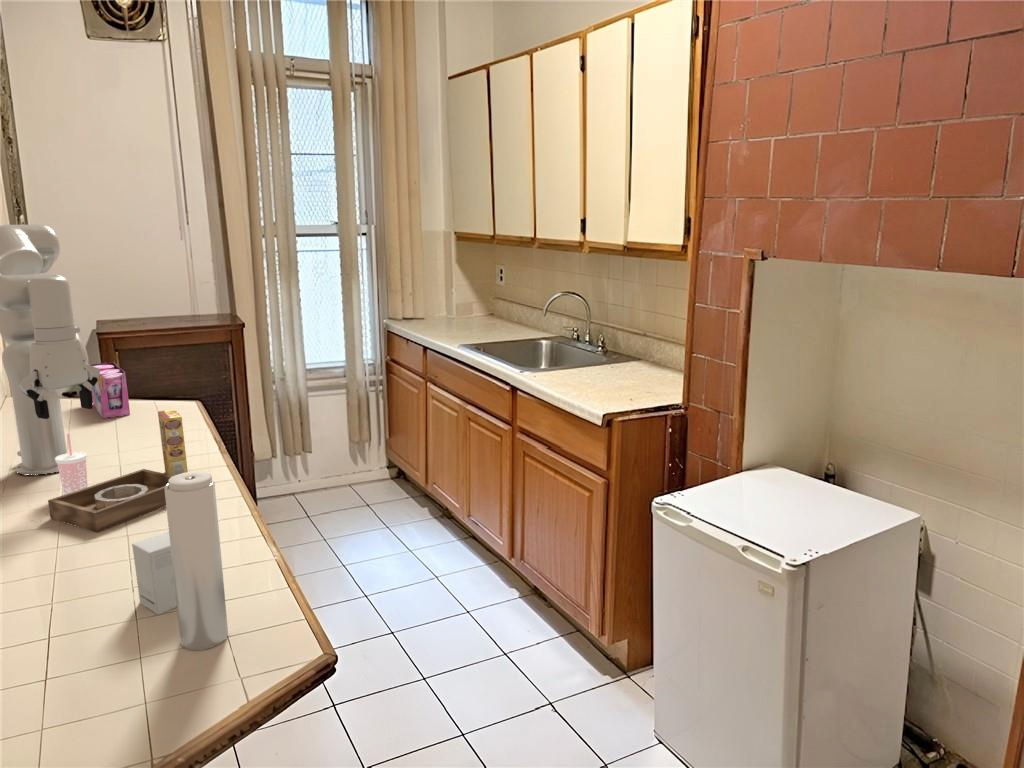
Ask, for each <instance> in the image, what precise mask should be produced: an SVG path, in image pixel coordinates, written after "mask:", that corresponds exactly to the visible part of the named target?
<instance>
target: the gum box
mask: <svg viewBox="0 0 1024 768" xmlns="http://www.w3.org/2000/svg"><path fill="white" fill-rule="evenodd" d="M89 365H90V366H93V367H96V368H99V369H100V374H99V376H98V378H97V379H98V381H97V383H96V384H95V386H94V389H93V390H92V399H93V404H92V405H93V406H94V407H95V409H96V408H97V409H96V410H97V412H98V413H99V415H100V414H101V415H100V416H101V417H102V419H109V418H108V417H110V418H117V417H116V416H118V417H124V415H125V416H130V415H131V412H130V411H131V409H130V402H129V395H128V394H129V393H128V386H127V377H126V372H125V371H124V370H123V369H122V368H120V366H118V365H117V364H116V363H115V362H114V361H111V362H103V363H102V362H100V363H91V364H89ZM88 374H89V375H88V376H90V372H89V371H88Z"/></svg>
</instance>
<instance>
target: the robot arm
mask: <svg viewBox="0 0 1024 768" xmlns="http://www.w3.org/2000/svg"><path fill="white" fill-rule="evenodd" d="M60 245H61V244H60V240H59V237H58V235H57V234H56V232H55V231H54V230H53V228H51V227H50V226H48V225H44V224H2V225H0V337H1V338H2V339H3V341H4V342H5V343H6V344H9V345H8V346H6V347H5V348H4V349H3V351H2V352H1V353H2V354H1V359H2V360H1V361H2V365H3V368H4V371H5V373H6V378H7V381H8V384H9V387H10V392H11V396H12V403H13V411H14V415H15V423H16V427H17V436H18V443H19V444H18V445H19V448H20V450H19V451H17V456H18V457H20V458H21V462H20V463H19V464H17V465H16V466H15V468H14V469H15V472H16V471H17V472H18V473H21V474H29V475H31V474H32V475H34V476H38V475H37V474H45V475H48V474H47V473H51V474H55V473H54V472H56V473H59V469H58V465H57V463H56V460H55V458H56V457H57V456H59V455H62V454H66V453H68V452H67V442H66V436H65V428H64V427H65V426H64V421H63V412H62V405H61V399H60V396H59V394H58V392H57V391H56V390H60V389H63V388H69V387H70V388H71V387H74V386H78V387H79V388H80V390H79V391H78V393H79V399H80V400H79V401H80V407H81V408H82V409H87V410H92V409H93V408H94V407H93V406H94V404H93V397H92V390H93V389H94V386H95V384H96V383H97V381H98V379H97V378H98V376H99V374H100V369H99V368H96V367H93V366H90V364H89V355H88V351H87V348H86V345H85V343H84V340H83V338H82V336H81V333H80V332H81V328H80V327H79V326H77V323H76V321H75V318H74V313H73V312H74V311H73V306H72V297H71V287H70V283H69V281H68V279H67V278H65V277H64V276H62V275H60V274H58V273H48V272H49V271H50V270H51V268H52V267H53V265H54V264H55V262H56V260H57V259H58V257H59V256H60V250H61V246H60ZM89 372H90V375H88V374H89ZM88 376H89V377H88ZM18 473H17V474H18ZM35 474H36V475H35Z"/></svg>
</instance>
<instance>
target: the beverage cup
mask: <svg viewBox="0 0 1024 768" xmlns="http://www.w3.org/2000/svg"><path fill="white" fill-rule="evenodd" d="M66 437H67V445H68V452H67V453H66V454H62V455H59V456H57V457H56V458H55V460H56V463H57V465H58V469H59V472H58V474H59V479H60V483H61V488H62V493H63V495H66V494H69V493H72V492H75V491H78V490H81V489H84V488H87V487H89V485H88V471H87V469H88V468H87V459H88V454H87V452H85V451H75V452H73V450H72V444H71V436H70V433H67V434H66Z"/></svg>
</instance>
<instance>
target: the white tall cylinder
mask: <svg viewBox="0 0 1024 768" xmlns="http://www.w3.org/2000/svg"><path fill="white" fill-rule="evenodd" d="M168 482H169V483H168V484H167V485H166V486H165V487H164V489H165V499H166V506H165V508H166V515H167V516H166V517H167V523H168V524H167V525H168V532H169V536H170V546H171V555H172V565H173V574H174V584H175V593H176V603H177V607H176V610H177V620H178V629H179V641H180V645H181V647H182V648H183V649H186V650H188V651H189V650H190V651H205V650H208V649H212V648H214V647H217V646H218V645H220V644H222V643H223V642H224V641H225V640H226V639H227V638H228V636H229V627H228V618H227V617H228V616H227V615H228V614H227V606H226V605H227V604H226V595H225V583H224V573H223V562H222V550H221V549H222V548H221V539H220V529H219V518H218V505H217V495H216V484H215V483H216V482H215V481H213V476H212V473H209V472H207V471H188V472H186V473H182V474H178V475H175V476H173V477H171V478H170V479H169V481H168Z"/></svg>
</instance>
